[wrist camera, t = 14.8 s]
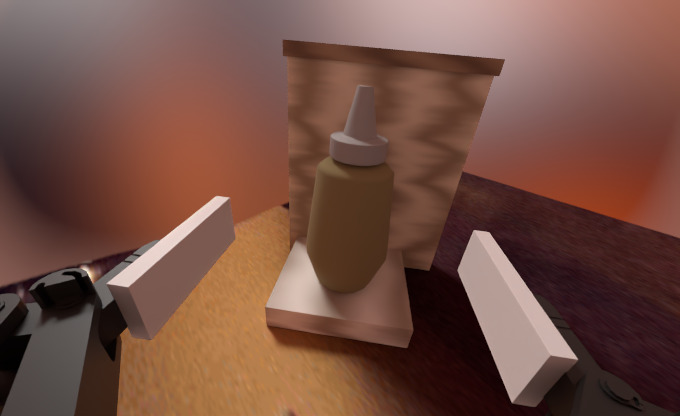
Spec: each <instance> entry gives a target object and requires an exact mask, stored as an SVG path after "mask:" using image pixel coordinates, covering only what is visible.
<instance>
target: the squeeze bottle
mask: <svg viewBox="0 0 680 416" xmlns="http://www.w3.org/2000/svg"><path fill="white" fill-rule="evenodd" d="M388 144H389V141H388V140H387V139H386V138H385V137H383V136H380V135H378V134H377V132H376V115H375V98H374V87H371V86H362V85H358V86H357V90H356V93H355V96H354V99H353V103H352V106H351V109H350V113H349V116H348V119H347V122H346V126H345V129H344V131H338V132H334V133H333V134H331V135H330V149H329V153H330V156H329V157H327V158H325V159H324V160H322V161H321V162H320V163H319V164H318V166H317V172H316V179H315V186H314V193H313V200H312V206H311V213H310V220H309V227H308V234H307V240H306V247H307V254H308V256H309V259H310V261H311V264H312V266H313V269H314V271H315V274H316V276H317V278H318V279H319V281H320V282H321V284H322V285H324V286H325V287H327V288H328V289H330V290H333V291H336V292H340V293H354V292H356V291H359V290H361V289H364V288H365V287H366V286H367V285H368V284H369V282H370V281H371V280H372V278H373V277H374V276H375V274H376V273H377V271H378V270H379V269H380V267H381V266H382V264H383V263H384V262H385V260H386V256H387V249H388V239H389V228H390V217H391V206H392V195H393V184H394V172H393V170H392V169H391V168H390V167H389V166H388V165H387V163H385V159H386V155H387V149H388Z"/></svg>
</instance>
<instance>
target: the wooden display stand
mask: <svg viewBox="0 0 680 416" xmlns="http://www.w3.org/2000/svg"><path fill="white" fill-rule="evenodd" d="M283 56H287V61H288V62H287V66H288V136H289V198H290V199H289V207H290V251H291V252H290V254H289V256H288V258H287V261H286V263H285V265H284V267H283V269H282V272H281V274H280V276H279V278H278V280H277V282H276V285H275V287H274V289H273V291H272V293H271V296H270V298H269V300H268V302H267V304H266V306H265V311H266V322H267V326H273V327H279V328H286V329H292V330H298V331H304V332H310V333H316V334H323V335H329V336H335V337H341V338H347V339H354V340H360V341H366V342H372V343H378V344H385V345H391V346H397V347H403V348H407V347H408V345H409V342H410V339H411V336H412V333H413V324H412V318H411V311H410V304H409V298H408V291H407V285H406V278H405V271H404V267H407V268H414V269H421V270H428V271H429V270H430V267H431V264H432V261H433V258H434V255H435V252H436V249H437V246H438V243H439V240H440V237H441V234H442V231H443V228H444V225H445V222H446V219H447V216H448V213H449V210H450V207H451V204H452V201H453V198H454V195H455V192H456V189H457V186H458V183H459V180H460V177H461V174H462V171H463V168H464V165H465V162H466V158H467V156H468V153H469V150H470V147H471V144H472V141H473V138H474V135H475V131H476V129H477V126H478V123H479V120H480V117H481V113H482V111H483V108H484V105H485V102H486V99H487V96H488V93H489V90H490V86H491V83H492V80H493V78H494V76H499V75H500V72H501V70H502V67H503V64H504V61H505V60H504V59H493V58H482V57H470V56H460V55H448V54H437V53H426V52H415V51H403V50H393V49H381V48H369V47H359V46H348V45H337V44H325V43H314V42H304V41H292V40H283ZM358 85H362V86H371V87H374V98H375V115H376V132H377V134H378V135H380V136H383V137H385V138H386V139H387V140H388V141H389V144H388V149H387V155H386V159H385V163H387V165H388V166H389V167H390V168H391V169H392V170H393V172H394V184H393V195H392V206H391V217H390V228H389V239H388V249H387V256H386V260H385V262H384V263H383V264H382V266H381V267H380V269H379V270H378V271H377V273H376V274H375V276H374V277H373V278H372V280H371V281H370V282H369V284H368V285H367V286H366V287H365V288H364V289H361V290H359V291H356V292H354V293H340V292H336V291H333V290H330V289H328V288H327V287H325V286H324V285H322V284H321V282H320V281H319V279H318V278H317V276H316V274H315V271H314V269H313V266H312V264H311V261H310V259H309V256H308V254H307V247H306V240H307V234H308V227H309V220H310V213H311V206H312V200H313V193H314V186H315V179H316V172H317V166H318V164H319V163H320V162H321V161H322V160H324V159H325V158H327V157H329V156H330V153H329V149H330V135H331V134H333V133H334V132H338V131H344V129H345V126H346V122H347V119H348V116H349V113H350V109H351V106H352V103H353V99H354V96H355V93H356V90H357V86H358Z"/></svg>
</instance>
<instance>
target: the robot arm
mask: <svg viewBox="0 0 680 416" xmlns="http://www.w3.org/2000/svg"><path fill="white" fill-rule="evenodd" d="M234 240H235V232H234V225H233V217H232V210H231V203H230V198H228V197H220V196H216V197H215V198H213V199H212V200H211V201H210V202H209V203H207V204H206V205H205V206H203V207H202V208H201V209H199V211H197V212H196V213H194V214H193V215H192V216H191V217H189V218H188V219H187V220H186V221H184V222H183V223H182V224H181V225H179V226H178V227H177V228H176V229H174V230H173V231H172V232H171V233H169V234H168V235H167V236H166V237H164V238H163V239H162V240H155V241H153V242H151V243H149V244H146V245H144V246H143V247H141V248H140V249H139V250H137V251H136V252H135V253H133V255H131V256H129V257H128V258H127V259H125V260H124V262H121V263H120V264H119V265H118V266H116V267H115V268H114V269H112V270H111V271H110V272H108V273H107V274H106V275H104V276H103V277H102V278H100V279H99V280H98V281H96V282H95V283H94V284H93V283H92V281H91V279H90V277H89V276H88V274H87V272H86V271H85V270H83V269H76V268H73V269H66V270H62V271H59V272H55V273H52V274H50V275H48V276H46V277H44V278H42V279H41V280H39V281H38V282H36V283H35V284H33V286H32V287H31V288H30V289H29V292H30V293H31V295H32V296H33V298H34V299H35V301H36V302H37V303H29V304H25V303H24V302H23V300H22V299H21V298H20V296H19V295H16V294H13V293H12V294H1V295H0V416H117V403H118V389H119V374H120V360H121V345H122V340H121V337H120V334H121V333H122V332H123V331H124V330H125V329H126V328H127V327H128V329H129V331H130V333H131V335H132V337H135V338H141V339H147V340H152V339H153V338H154V336H155V335H156V334H157V333H158V332H159V330H160V329H161V328H162V327H163V326H164V324H165V323H166V322H167V321H168V319H169V318H170V317H171V316H172V315H173V313H174V312H175V311H176V310H177V309H178V307H179V306H180V305H181V304H182V303H183V301H184V300H185V299H186V298H187V297H188V295H189V294H190V293H191V292H192V290H193V289H194V288H195V287H196V286H197V284H198V283H199V282H200V281H201V280H202V278H203V277H204V276H205V275H206V274H207V272H208V271H209V270H210V269H211V268H212V266H213V265H214V264H215V263H216V261H217V260H218V259H219V258H220V257H221V255H222V254H223V253H224V252H225V251H226V249H227V248H228V247H229V246H230V245H231V243H232V242H233V241H234ZM458 273H459V275H460V278H461V280H462V283H463V285H464V288H465V290H466V292H467V295H468V297H469V300H470V302H471V305H472V307H473V309H474V312H475V314H476V317H477V319H478V322H479V324H480V326H481V329H482V331H483V334H484V336H485V339H486V341H487V344H488V346H489V348H490V351H491V353H492V356H493V358H494V361H495V363H496V365H497V368H498V370H499V373H500V375H501V378H502V380H503V382H504V385H505V387H506V390H507V392H508V395H509V397H510V399H511V402H512V403H514V404H520V405H525V406H531V407H536V406H537V405H538V404H539V403H540V401H541V400H542V399H543V398H544V399H545V401H546V403H547V405H548V407H549V409H550V411H549V412H548V413H547V414H546V415H545V416H680V411H678V412H677V413H672V412H670V411H668V410H665V409H663V408H660V407H658V406H656V405H653V404H651V403H649V402H646V401H644V400H642V399H641V397H640V396H639V394H638V393H637V392H636V391H635V390H634V389H632V388H631V387H630V386H629V385H628V384H627V383H626V382H624V381H623V380H621V379H620V378H618V377H617V376H615V375H613V374H611V373H609V372H607V371H604V370H601V369H600V367H599V366H598V365H597V363H596V362H595V361H594V359H593V358H592V357H591V355H590V354H589V353H588V351H587V350H586V349H585V347H584V346H583V345H582V343H581V342H580V341H579V339H578V338H577V337H576V335H575V334H574V333H573V331H571V330H570V327H569V326H568V325H567V324H566V322H565V321H563V320H562V317H561V316H560V314H559V313H558V312H557V310H556V309H555V308H554V306H553V305H551V304H550V303H549V302H548V301H547V300H545V299H544V298H543V297H542V296H541V295H534V294H532V293H531V292H530V290H529V289H528V287H527V286H526V284H525V283H524V282H523V280H522V279H521V277H520V276H519V274H518V273H517V272H516V270H515V269H514V267H513V266H512V264H511V263H510V262H509V260H508V259H507V257H506V256H505V254H504V253H503V252H502V250H501V249H500V247H499V246H498V244H497V243H496V242H495V240H494V239H493V237H492V236H491V234H490V233H489V232H483V231H476V230H474V231H473V233H472V236H471V238H470V241H469V243H468V246H467V248H466V251H465V253H464V256H463V258H462V261H461V263H460V266H459V268H458Z"/></svg>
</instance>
